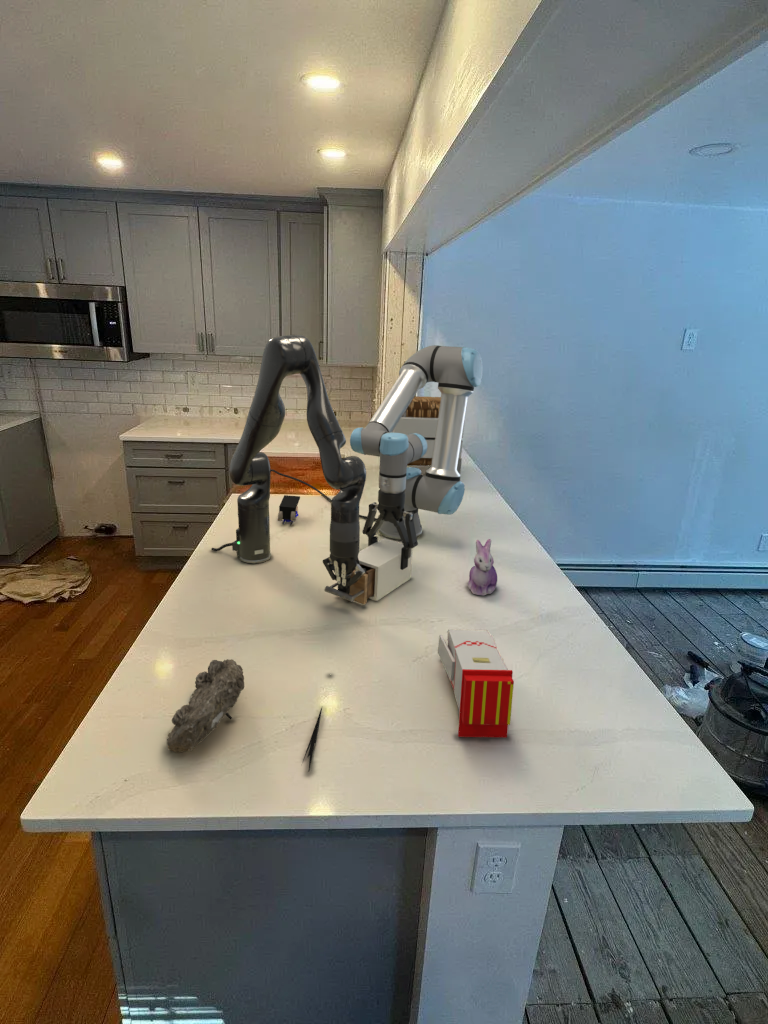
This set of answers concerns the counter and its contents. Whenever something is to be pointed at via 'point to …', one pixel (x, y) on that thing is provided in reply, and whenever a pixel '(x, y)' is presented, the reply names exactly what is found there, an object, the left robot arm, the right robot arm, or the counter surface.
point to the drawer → (357, 587)
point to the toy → (478, 682)
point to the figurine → (483, 571)
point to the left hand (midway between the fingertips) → (343, 596)
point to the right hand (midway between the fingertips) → (388, 562)
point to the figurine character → (288, 509)
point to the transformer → (423, 426)
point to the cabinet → (385, 566)
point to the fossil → (206, 705)
